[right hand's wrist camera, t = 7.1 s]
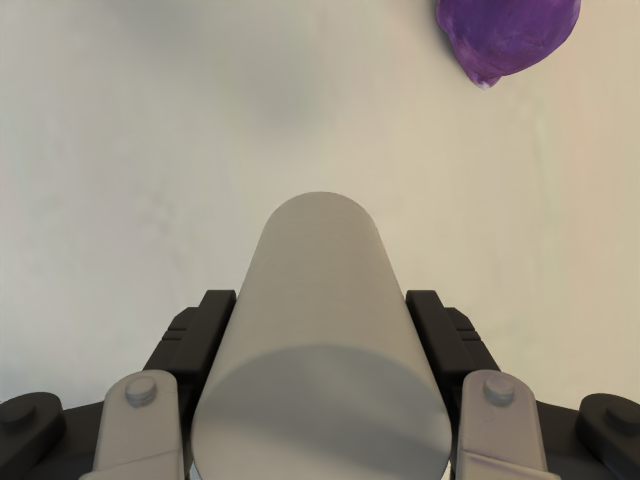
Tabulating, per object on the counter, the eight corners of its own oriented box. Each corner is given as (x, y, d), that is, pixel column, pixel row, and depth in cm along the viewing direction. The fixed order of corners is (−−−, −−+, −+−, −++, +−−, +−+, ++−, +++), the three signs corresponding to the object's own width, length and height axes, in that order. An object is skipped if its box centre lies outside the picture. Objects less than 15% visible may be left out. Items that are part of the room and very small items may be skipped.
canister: (390, 199, 16) (483, 358, 7) (369, 307, 18) (422, 550, 9) (265, 183, 16) (190, 327, 7) (256, 295, 18) (186, 531, 8)
